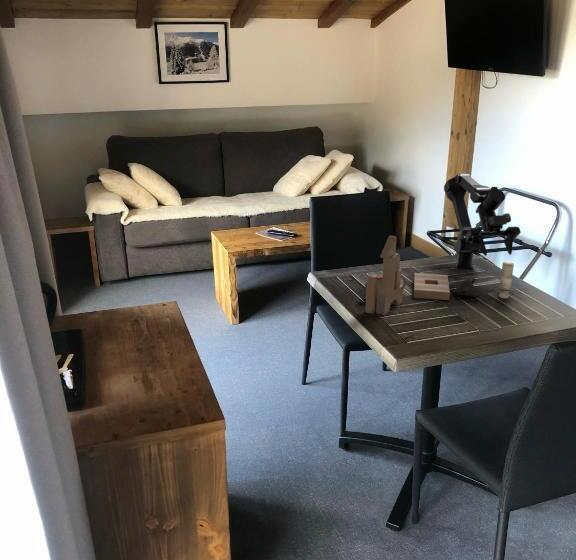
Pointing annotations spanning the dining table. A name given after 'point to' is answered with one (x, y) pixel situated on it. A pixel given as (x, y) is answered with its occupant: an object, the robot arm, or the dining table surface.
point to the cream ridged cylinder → (506, 279)
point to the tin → (379, 278)
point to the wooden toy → (385, 282)
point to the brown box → (431, 286)
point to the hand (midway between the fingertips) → (498, 254)
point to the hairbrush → (466, 288)
